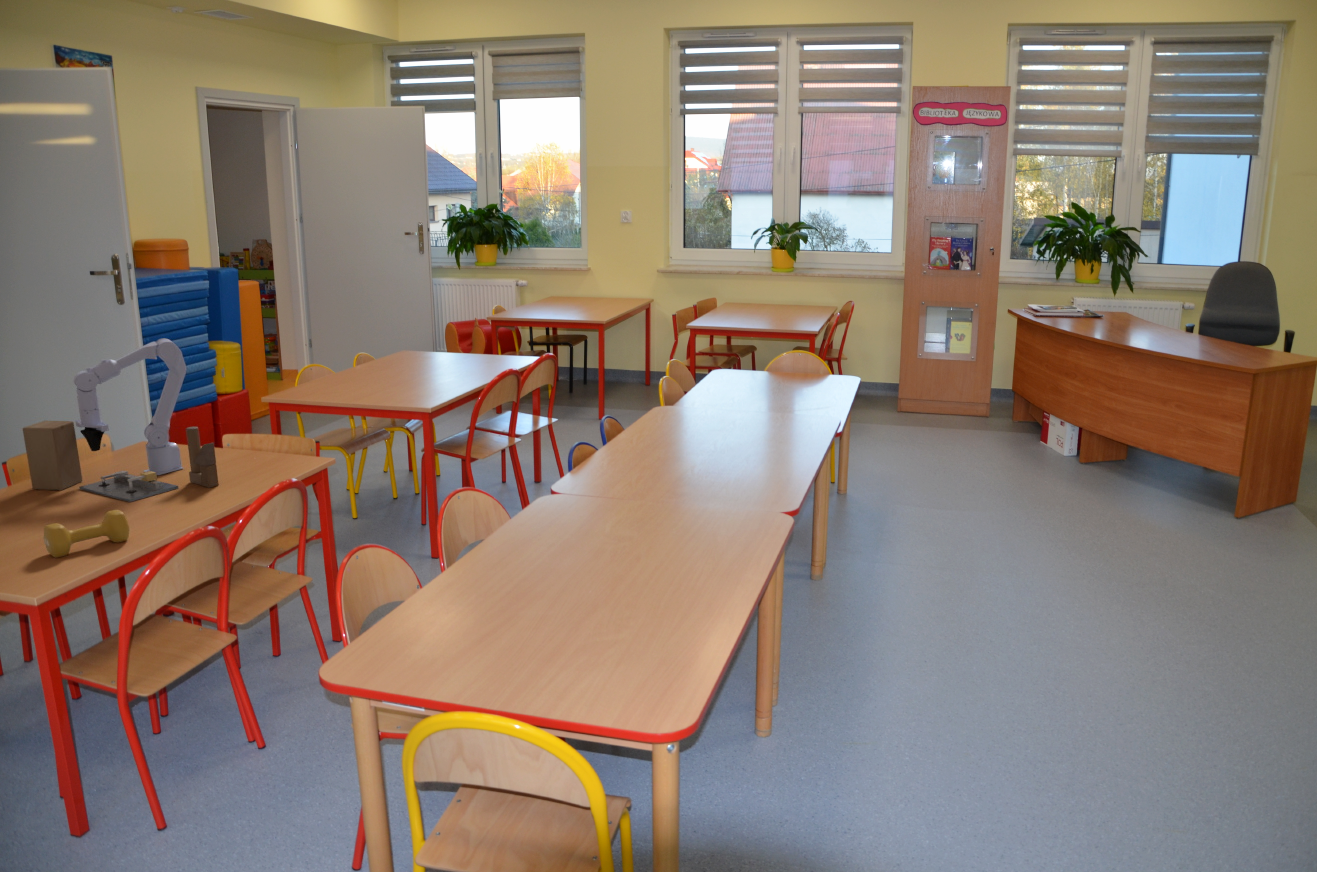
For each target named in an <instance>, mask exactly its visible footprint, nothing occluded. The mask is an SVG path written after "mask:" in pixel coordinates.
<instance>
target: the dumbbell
mask: <svg viewBox="0 0 1317 872" xmlns="http://www.w3.org/2000/svg"><path fill="white" fill-rule="evenodd" d="M129 536H130V525H129V521H128V519H127V516H126V514H125V513H124V512H123V511H122V510H120V509H113V510H109V511H107V512H105V515H104V516H103V520H102V521H101V523H98V524H92V525H86V526H83V527H80V528H75V529H71V530H70V529H67V528H66V526H64V525H63V524H61V523H56V522H55V523H49V524H47V525H45V526H44V529H43V542H44V545H45V549H46V551H47V552H48V553H49V554H50V555H51V556H52V557H53V558H56V559H57V558H61V557H65V556H67V555H69V553H70V551H71V547H72V545H74V544H76V543H80V542H84V541H87V540H91V539H95V538H102V537H107V538H108V539H109V540H110V541H111V542H114V543H122V542H125V541H128V539H129Z"/></svg>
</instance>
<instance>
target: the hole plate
mask: <svg viewBox="0 0 1317 872" xmlns="http://www.w3.org/2000/svg"><path fill="white" fill-rule="evenodd" d="M134 477H138V475H135V474H129V471H127V470H119V471H117V472H115V471H114V472H113V473H111V474H106V475H103V476H100V479H101V480H100V481H99V480H98V481H96V482H93V483H88V484H84V485H80V486H79V488H78V489H79V490H81V491H85V492H89V493H92V494H96V495H101V496H105V497H109V498H113V499H117V500H120V501H125V502H128V503H132V502H135V501H139V500H142V499H146V498H149V497H152V496H157V495H160V494H163V493H166V492H170V491H173V490H177V489H179V485H176V484H172V483H169V482H165V481H164V482H163V481H159V480H157V479H156V480H152V481H148V482H146V481H142V480H141V479H138V480H134V481H132V485H133V491H130V487H129V481H128V479H130V478H134Z"/></svg>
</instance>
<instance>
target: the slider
mask: <svg viewBox="0 0 1317 872" xmlns="http://www.w3.org/2000/svg"><path fill="white" fill-rule="evenodd" d="M137 476H138V475H137ZM157 476H158V475H156V472H152V471H148V472H142V473H140V475H139V476H138V477H134V478H130V479H128V481H129V487H130V491H133V485H132V481H134V480H138V479H141V480H142V481H146V482H148V481H152V480H156V481H157V480H158V478H157Z"/></svg>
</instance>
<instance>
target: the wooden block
mask: <svg viewBox="0 0 1317 872" xmlns="http://www.w3.org/2000/svg"><path fill="white" fill-rule="evenodd" d="M74 423H75V422H74V421H72V420H42V421H39V422H37V423H33V424H30V425H28V426H24V427H22V433H23V434H22V435H23V440H24V445H25V446H24V447H25V451H26V457H27V463H28V469H29V475H30V481H31V482H30V483H31V487H32V490H43V491H45V490H47V491H63V490H65V489H68V488H69V487H72V486H74V485H76V484H79V483H81V482H83V475H82V468H81V462H80V456H79V447H78V443H77V442H78V441H77V436H76V435H77V434H76V429H75V424H74Z"/></svg>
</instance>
